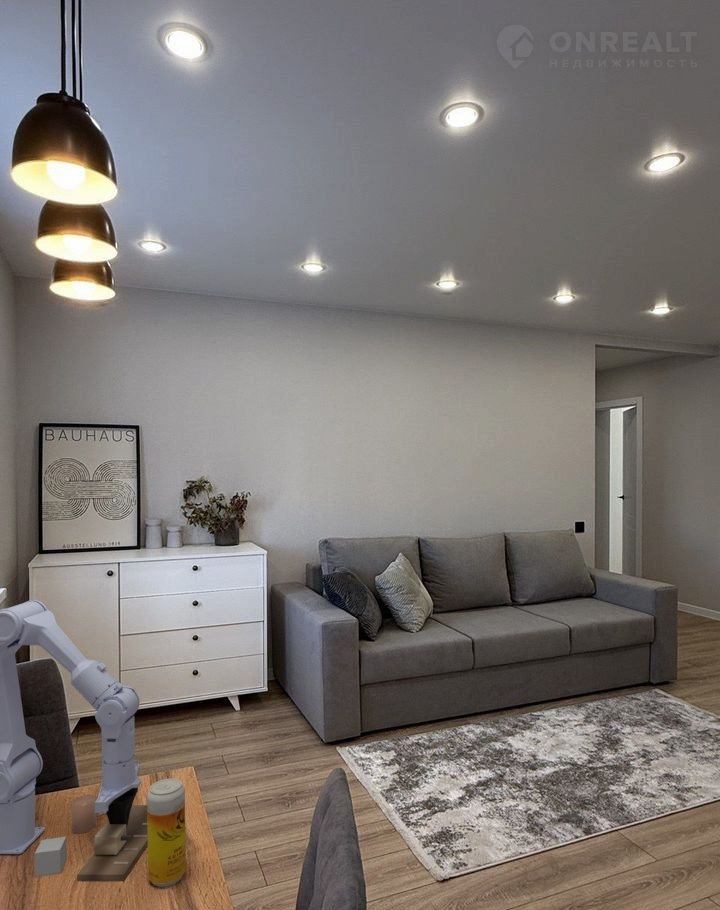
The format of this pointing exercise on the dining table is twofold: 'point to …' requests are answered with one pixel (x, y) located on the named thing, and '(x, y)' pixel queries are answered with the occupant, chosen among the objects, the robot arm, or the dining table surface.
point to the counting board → (120, 852)
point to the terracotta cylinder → (83, 814)
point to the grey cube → (50, 856)
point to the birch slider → (110, 839)
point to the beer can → (166, 832)
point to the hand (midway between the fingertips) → (119, 832)
